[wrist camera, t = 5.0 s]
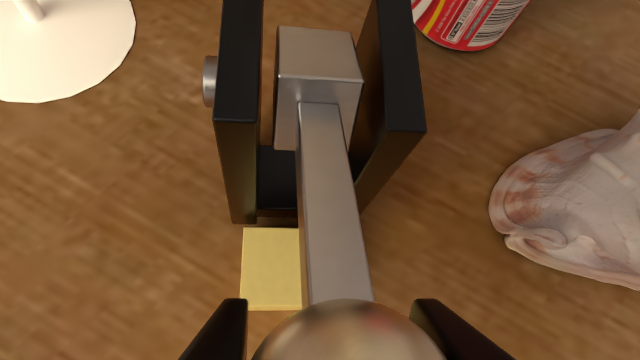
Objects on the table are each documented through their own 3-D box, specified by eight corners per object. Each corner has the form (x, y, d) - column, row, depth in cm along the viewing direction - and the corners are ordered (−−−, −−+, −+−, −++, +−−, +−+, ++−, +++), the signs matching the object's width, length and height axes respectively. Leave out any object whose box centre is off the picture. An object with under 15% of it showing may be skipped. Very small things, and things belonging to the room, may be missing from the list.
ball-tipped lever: (450, 568, 6) (568, 544, 4) (227, 588, 6) (216, 576, 3) (351, 110, 14) (371, 18, 12) (257, 104, 14) (259, 8, 12)
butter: (337, 310, 18) (346, 305, 16) (240, 310, 17) (239, 306, 15) (335, 240, 19) (343, 228, 17) (244, 238, 18) (243, 226, 16)
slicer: (356, 234, 19) (448, 133, 10) (221, 231, 18) (187, 118, 9) (352, 147, 20) (428, -8, 11) (228, 140, 20) (205, -32, 11)
